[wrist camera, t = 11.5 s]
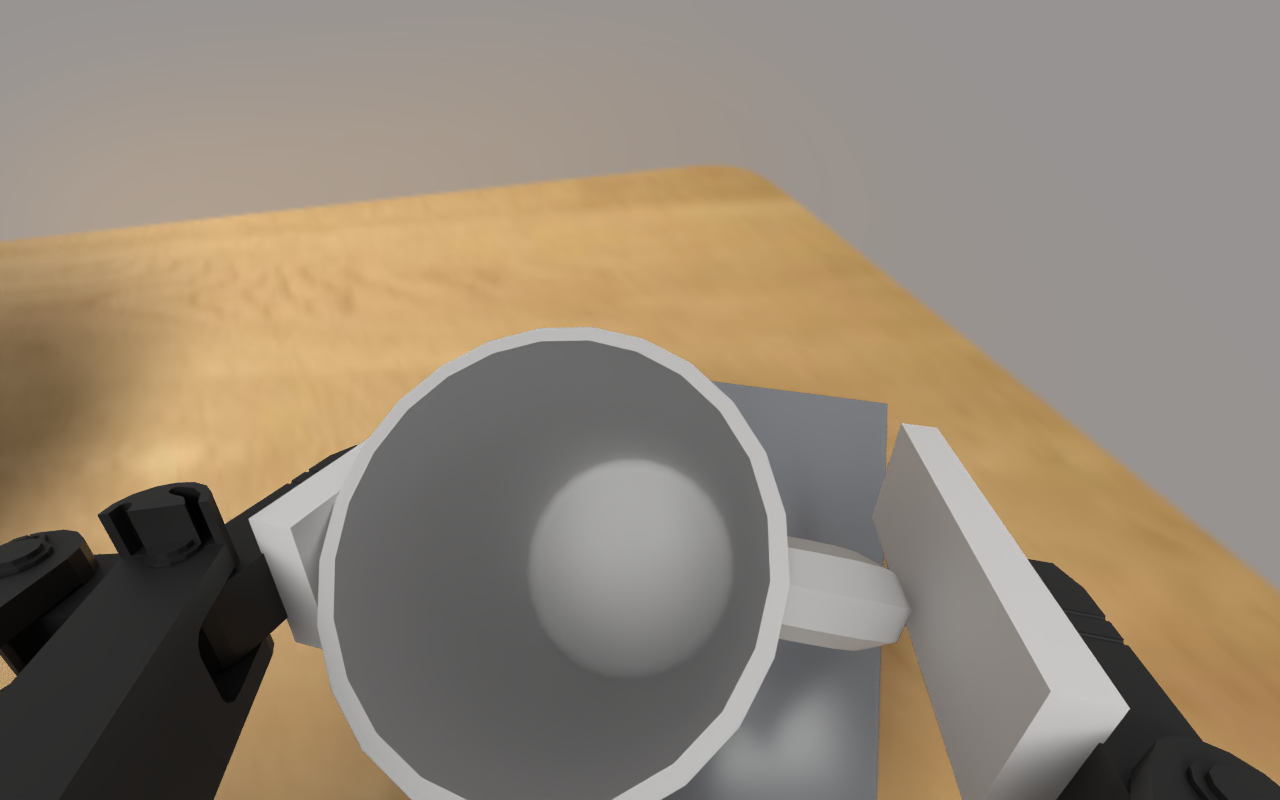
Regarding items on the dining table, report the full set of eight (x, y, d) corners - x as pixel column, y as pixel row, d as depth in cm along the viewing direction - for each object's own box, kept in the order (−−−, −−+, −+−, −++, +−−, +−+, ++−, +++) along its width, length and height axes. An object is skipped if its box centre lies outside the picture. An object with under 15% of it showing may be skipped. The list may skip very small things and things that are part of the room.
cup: (550, 438, 17) (407, 308, 9) (843, 481, 16) (998, 367, 7) (495, 660, 15) (237, 757, 7) (832, 740, 13) (1042, 1007, 5)
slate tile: (449, 726, 19) (428, 738, 17) (545, 371, 23) (535, 359, 22) (860, 843, 16) (875, 868, 15) (875, 415, 21) (887, 403, 19)
